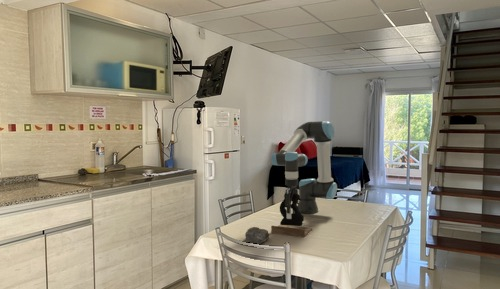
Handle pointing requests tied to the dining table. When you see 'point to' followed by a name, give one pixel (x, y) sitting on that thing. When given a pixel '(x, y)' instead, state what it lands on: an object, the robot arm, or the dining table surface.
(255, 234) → the rock
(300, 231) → the display board
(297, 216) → the figurine
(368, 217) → the dining table surface
